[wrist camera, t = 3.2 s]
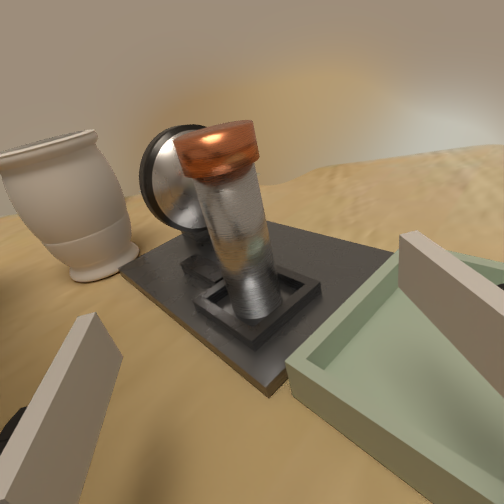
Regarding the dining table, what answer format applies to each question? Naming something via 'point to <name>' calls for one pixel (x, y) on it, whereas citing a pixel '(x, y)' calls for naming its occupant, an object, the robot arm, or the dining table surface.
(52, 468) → the robot arm
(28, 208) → the jar
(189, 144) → the copper-capped metal cylinder
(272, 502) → the dining table surface
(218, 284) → the pulley plate
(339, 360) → the tray
